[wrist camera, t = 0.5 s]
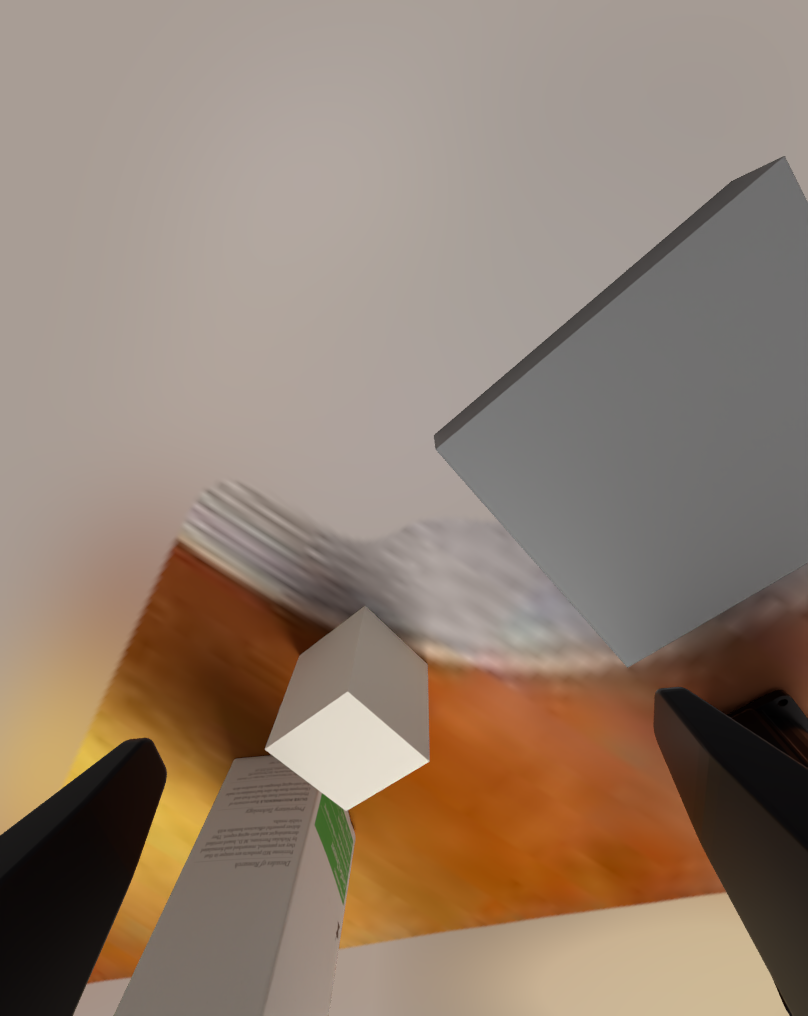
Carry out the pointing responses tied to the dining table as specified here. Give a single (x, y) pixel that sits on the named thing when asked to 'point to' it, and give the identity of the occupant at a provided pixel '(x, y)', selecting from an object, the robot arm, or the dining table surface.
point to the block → (354, 712)
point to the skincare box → (252, 905)
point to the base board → (663, 426)
